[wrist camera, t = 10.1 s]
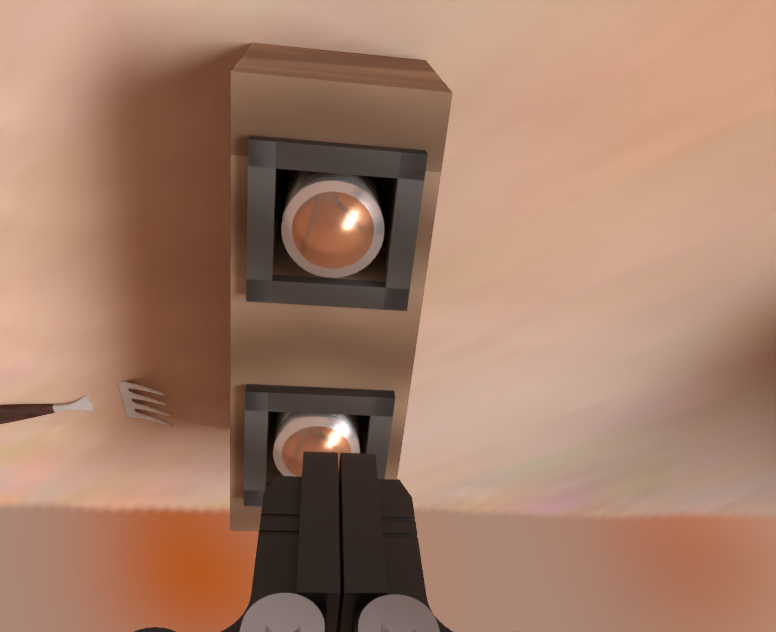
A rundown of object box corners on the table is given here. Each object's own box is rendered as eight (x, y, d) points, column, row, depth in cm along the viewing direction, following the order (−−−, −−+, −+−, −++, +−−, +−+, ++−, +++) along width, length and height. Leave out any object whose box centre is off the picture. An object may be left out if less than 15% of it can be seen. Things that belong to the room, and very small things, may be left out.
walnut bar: (252, 42, 32) (228, 74, 24) (425, 60, 33) (455, 95, 25) (246, 431, 42) (228, 539, 34) (379, 436, 43) (389, 542, 35)
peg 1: (292, 129, 33) (283, 177, 26) (377, 136, 33) (389, 185, 26) (289, 210, 35) (279, 274, 28) (369, 216, 35) (379, 280, 28)
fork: (-112, 402, 40) (-133, 423, 38) (170, 371, 40) (163, 391, 38) (-94, 438, 41) (-113, 460, 39) (180, 409, 41) (173, 429, 39)
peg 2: (284, 333, 38) (274, 417, 31) (357, 337, 38) (363, 420, 32) (281, 394, 40) (271, 486, 33) (351, 397, 40) (356, 488, 33)
